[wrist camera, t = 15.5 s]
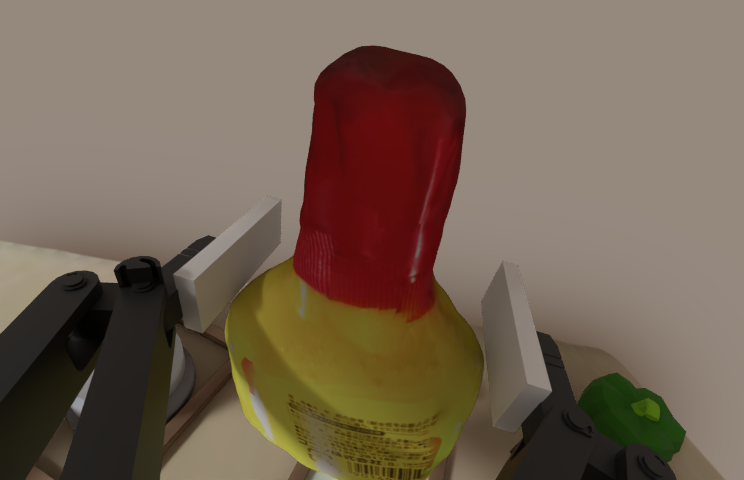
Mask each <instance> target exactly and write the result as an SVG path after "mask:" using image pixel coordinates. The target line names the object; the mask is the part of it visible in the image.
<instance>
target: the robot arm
mask: <svg viewBox="0 0 744 480" xmlns="http://www.w3.org/2000/svg"><path fill="white" fill-rule="evenodd" d="M280 236H281V199H278V198H275V197H271V196H266V197H265V198H264V199H263V200H262V201H261V202H259V203H258V204H257V205H256V206H254V207H253V208H252V209H251V210H250V211H248V212H247V213H246V214H245V215H244V216H243V217H241V218H240V219H239V220H238V221H236V222H235V223H234V224H233V225H232V226H230V227H229V228H228V229H227V230H226V231H224V232H223V233H222V234H221V235H220V236H218V237H217V238H215V237H211V236H209V235H208V236H206V237H203V238H201V239H198V240H196V241H195V242H194V243H192V244H191V245H190V246H188V248H187V249H185V250H183V251H182V252H181V254H178V255H177V256H176V257H174V258H173V259H172V260H171V261H169V262H168V263H167V264H165V265H164V266H163V267H162V268H161V266H160V262H159V261H158V260H157V259H156V258H153V257H150V256H139V257H133V258H130V259H127V260H124V261H123V262H121V263H120V264H118V265H117V266H116V267H115V269H114V273H115V276H116V279H117V281H118V283H103V282H100V280H99V278H98V275H97V274H95V273H94V272H90V271H75V272H71V273H67V274H64V275H62V276H60V277H58V278H56V279H55V280H54V281H52V282H51V283H50V284H49V285H48V286H47V287H46V288H45V289H44V290H43V291H42V292H41V293H40V294H39V295H38V296H37V297H36V298H35V299H34V300H33V301H32V302H31V303H30V304H29V305H28V306H27V307H26V308H25V309H24V310H23V311H22V312H21V314H20V315H19V316H18V317H17V318H16V319H15V320H14V321H13V322H12V323H11V324H10V325H9V326H8V327H7V328H6V329H5V330H4V331H3V332H2V333H1V334H0V480H25V479H26V477H27V476H28V474H29V473H30V471H31V469H32V468H33V466H34V465H35V463H36V461H37V460H38V458H39V457H40V455H41V453H42V452H43V450H44V449H45V447H46V445H47V444H48V442H49V441H50V439H51V437H52V436H53V434H54V433H55V431H56V429H57V428H58V426H59V425H60V423H61V421H62V420H63V418H64V417H65V415H66V413H67V412H68V410H69V409H70V407H71V406H72V404H73V402H74V401H75V399H76V398H77V396H78V394H79V393H80V391H81V390H82V388H83V386H84V385H85V383H86V382H87V380H88V378H89V377H90V375H91V374H92V372H93V370H94V373H93V376H92V379H91V382H90V385H89V389H88V392H87V395H86V398H85V401H84V405H83V408H82V411H81V414H80V417H79V421H78V424H77V427H76V430H75V433H74V436H73V440H72V443H71V446H70V449H69V452H68V456H67V459H66V462H65V465H64V468H63V472H62V475H61V478H60V480H160V471H161V462H162V454H163V445H164V436H165V427H166V418H167V409H168V400H169V392H170V383H171V374H172V365H173V356H174V347H175V338H176V327H175V325H176V324H177V323H178V322H179V321H180V319H181V318H182V317H183V322H184V326H185V328H188V329H191V330H194V331H197V332H200V333H203V332H204V331H205V330H206V329H207V328H208V327H209V325H210V324H211V323H212V322H213V321H214V320H215V318H216V317H217V316H218V315H219V314H220V313H221V311H222V310H223V309H224V308H225V307H226V306H227V304H228V303H229V302H230V301H231V300H232V299H233V297H234V296H235V295H236V294H237V293H238V292H239V290H240V289H241V288H242V287H243V286H244V285H245V283H246V282H247V281H248V280H249V279H250V278H251V276H252V275H253V274H254V273H255V272H256V270H257V269H258V268H259V267H260V266H261V265H262V264H263V262H264V261H265V260H266V259H267V258H268V257H269V255H270V254H271V253H272V252H273V251H274V250H275V248H276V247H277V246H278V245H279V244H280ZM481 303H482V315H483V326H484V337H485V348H486V359H487V369H488V380H489V391H490V402H491V413H492V424H493V427H495V428H498V429H501V430H504V431H507V432H511V433H515V432H516V431H517V430H518V429H519V428H520V426H522V432H523V438H522V440H521V441H520V442H519V443H518V444H517V445H516V446H515V447H514V448H513V449H512V450H511V451H510V453H511V456H510V457H509V459H508V461H507V462H506V464H505V465H504V467H503V469H502V470H501V472H500V473H499V475H498V477H497V478H496V480H676V477H675V474H674V473H673V471H672V470H671V468H670V467H669V465H668V464H667V463H666V462H665V461H664V459H663V458H662V457H661V456H660V455H659V454H657V453H656V452H655V451H653V450H652V449H650V448H649V447H647V446H645V445H643V444H640V443H631V444H629V445H628V446H626V447H623V446H621V445H620V444H618V443H616V442H615V441H613V440H611V439H610V438H608V437H606V436H605V435H603V434H601V433H600V432H599V431H597V430H596V427H595V425H594V423H593V421H592V420H591V418H590V417H589V416H588V415H587V414H586V413H585V412H584V411H583V410H582V409H581V408H579V407H578V406H577V404H576V401H575V398H574V395H573V392H572V389H571V386H570V383H569V380H568V377H567V374H566V370H564V368H565V367H564V364H563V361H562V360H561V359H562V358H561V355H560V352H559V349H558V346H557V345H556V344H555V342H554V341H553V339H552V338H551V337H550V335H547V334H544V333H541V332H537V331H536V329H535V325H534V322H533V318H532V315H531V310H530V307H529V303H528V299H527V296H526V292H525V288H524V285H523V281H522V277H521V273H520V269H519V266H518V265H515V264H512V263H508V262H504V261H502V263H501V265H500V267H499V269H498V271H497V272H496V274H495V276H494V278H493V280H492V282H491V284H490V286H489V288H488V290H487V291H486V293H485V295H484V297H483V299H482V301H481Z"/></svg>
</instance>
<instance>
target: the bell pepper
mask: <svg viewBox="0 0 744 480" xmlns="http://www.w3.org/2000/svg"><path fill="white" fill-rule="evenodd" d="M577 406H578V407H579V408H581V409H582V410H583V411H584V412H585V413H586V414H587V415H588V416H589V417H590V418H591V420H592V421H593V423H594V425H595V427H596V430H597V431H599V432H600V433H601V434H603V435H605V436H606V437H608V438H610V439H611V440H613V441H615V442H616V443H618V444H620V445H621V446H623V447H626V446H628V445H629V444H631V443H640V444H643V445H645V446H647V447H649V448H650V449H652V450H653V451H655V452H656V453H657V454H659V455H660V456H661V457H662V458H663V459H664V461H665V462H666V463H667V462H669V461H671V459H672V456H673V454H675V453H677V452H679V451H680V448H681V445H682V443H683V440H684V437H685V434H686V431H685V430H684V429H683V428H682V427H681V426H680V424H679V423H678V422H677V421H676V420H675V419H674V418H673V416H672V414H671V413H670V411H669V409H668V408H667V406H666V404H665V402H664V401H663V400H662V397H660V396H658V395H657V394H655V393H653V392H651V391H649V390H648V389H646V388H640V389H636V388H635V387H634V386H633V385H632V384H631V382H630V381H628V380H627V379H625V378H624V377H623V376H621V375H620V374H618V373H613V374H608V375H606V376H603V377H601V378H598V379H596V380H593V381H592V382H591V383H590V384H589V386H588V387H587V388H586V389H585V390H584V392H583V394H582V396H581V398H580V400H579V402H578V404H577Z"/></svg>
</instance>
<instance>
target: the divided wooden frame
mask: <svg viewBox="0 0 744 480" xmlns="http://www.w3.org/2000/svg"><path fill="white" fill-rule="evenodd" d="M178 323H180V324H182V325H184V322H183V317H182V318H181V319H180V321H179V322H178ZM193 331H194V330H193ZM195 332H197V331H195ZM197 333H199V334H201V335H203V336H205V337H206V338H208V339H210V340H212V341H214V342H216V343H218V344H220V345H222V346H223V347H225V348H227V349H228V347H227V344H226V340H225V331H224V330H222V329H220V328H218V327H217V326H215V325H213V324H210V325H209V327H208V328H207V329H206V330H205V331H204V332H203V333H200V332H197ZM182 348H183V352H184V356H185V371H184V374H183V377H182V379H181V381H180V383H179V384H178V386H177V387H176V389H175V390H174V391H173V392H172V394H171V395H170V396H169V400H168V409H167V418H166V427H165V436H164V445H163V454H164V453H165V451H166V450H167V449H168V448H169V447H170V446H171V445H172V444H173V442H174V441H175V440H176V439H177V438H178V437H179V436H180V434H181V433H182V432H183V431H184V430H185V429H186V428H187V427H188V425H189V424H190V423H191V422H192V421H193V420H194V419H195V418H196V416H197V415H198V414H199V413H200V412H201V411H202V410H203V408H204V407H205V406H206V405H207V404H208V403H209V402H210V401H211V399H212V398H213V397H214V396H215V395H216V394H217V393H218V392H219V390H220V389H221V388H222V387H223V386H224V385H225V384H226V383H227V381H228V380H229V379H230V378H231V377H232V376H233V375H232V366H231V359H230V358H229V359H228V360H227V361H226V363H225V364H224V365H223V366H222V367H221V368H220V369H219V370H218V371H217V372H216V373H215V374H214V375H213V376H212V377H211V378H210V379H209V381H208V382H207V383H206V384H205V385H204V386H203V387H202V388H201V389H200V390H199V391H198V392H197V393H196V394H195V395H194V396H193V397H192V399H191V400H190V401H189V402H188V400H189V398H190V396H191V394H192V392H193V389H194V385H195V378H196V377H195V369H194V365H193V361H192V358H191V356H190V354H189V352H188V351H187V350H186V349H185V348H184V347H183V346H182ZM187 402H188V403H187ZM186 403H187V404H186ZM66 418H67V420H68V423H69V424H70V425H71V427H72V428H73V430H74V431H75V430H76V427H77V424H78V421H79V417H78V416H77V415H76V414H75V413H74V411H73V410H72V408H71V407H70V409H69V410H68V412H67V413H66ZM163 454H162V455H163ZM446 462H447V457H446V458H445V459H444V460H443V461H441V462H440V463H439V464H438V465H437V466H436V467H435V468H434V469H433V471H432V472H431V474H430V475H429V476H428V478H427V479H426V480H443V478H444V473H445V467H446ZM25 480H54V479H52V478H51V477H50V476H48V475H47V474H46V473H44V472H43V471H41V470H40V469H39V468H37V467H36V466H35V465H34V466H33V468H32V469H31V471H30V473H29V474H28V476H27V477H26V479H25ZM288 480H338V479H336V478H334V477H332V476H330V475H328V474H325V473H323V472H319V471H316V470H313V469H310V468H308V467H306V466H305V465H303V464H301V463H300V462H299V461H298V462H297V464H296V466H295V468H294V470H293V471H292V473H291V475H290V477H289V479H288Z"/></svg>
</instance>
